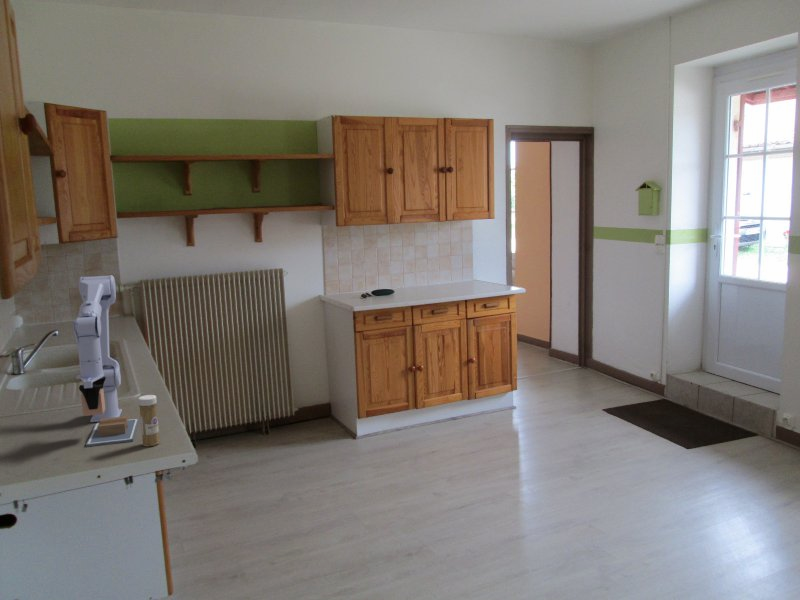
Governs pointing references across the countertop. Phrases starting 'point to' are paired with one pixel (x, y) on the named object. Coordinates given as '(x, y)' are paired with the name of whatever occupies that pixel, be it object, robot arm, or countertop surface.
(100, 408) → the terracotta block
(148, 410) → the sprinkles bottle
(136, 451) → the countertop surface
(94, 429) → the board
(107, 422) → the walnut base block
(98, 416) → the robot arm
